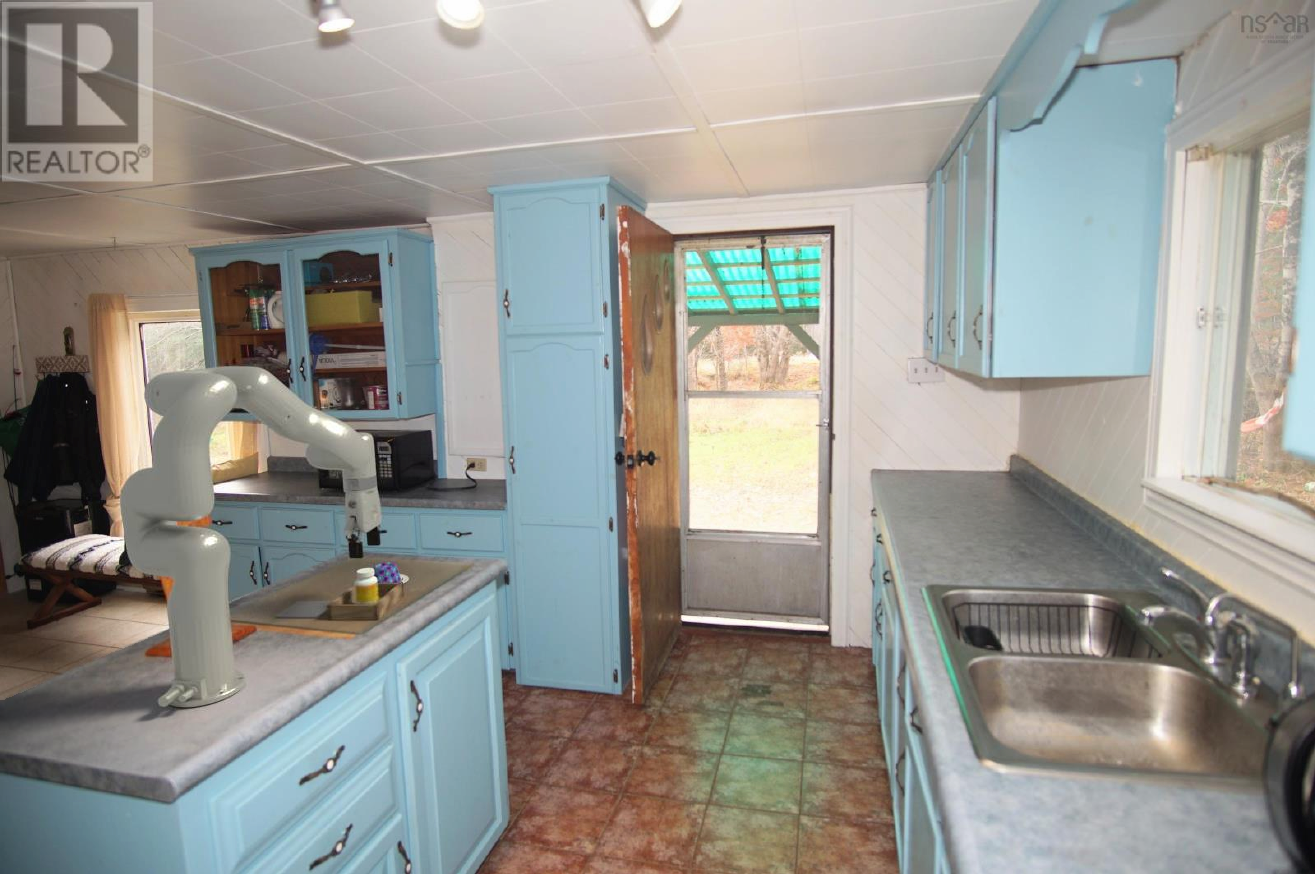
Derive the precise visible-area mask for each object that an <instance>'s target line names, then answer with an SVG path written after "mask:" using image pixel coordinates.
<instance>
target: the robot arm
mask: <svg viewBox="0 0 1315 874" xmlns="http://www.w3.org/2000/svg"><path fill="white" fill-rule="evenodd" d="M143 395H144V402H145V404H146V405H147V407H148V409H150V411H152V412H154V414H156V415H158V416H160V417H162V418H161V419H160V421H159V422H158V424H157V425H156V428H155V430H154V433H153V435H152V441H151V452H152V455H151V456H152V465H153V466H152V467H146V468H142V469H139V470H137V471H135V472H133V474H131V475H130V476H129V477H128V478H127V479H126V481H125V483H124V484H123V486H122V489H121V492H120V497H119V504H120V513H121V521H122V529H123V534H124V535H123V536H124V541H125V546H126V547H125V548H126V552H127V557H128V559H129V561H130V563H131V565H132V566H133V567H134V568H135V569H136V570H137V571H138V572H140V573H143V574H145V575H150V576H157V577H164V578H170V579H173V582H172V587H171V589H170V591H169V595H168V598H167V603H166V604H167V605H166V610H167V620H168V628H169V637H170V638H169V640H170V649H171V656H172V657H171V658H172V659H171V660H172V669H173V678H174V679H172V680H171V687H170V688H169V689H168V690H167V691H166V693H165V694H163V695H161V696H160V697H159V698H158V699H157V703H158V705H159V707H162V708H166V707H168V706H169V705H170V706H173V707H176V708H194V707H195V708H196V707H200V706H206V705H209V704H214V703H217V702H219V701H222V700H225V699H228V698H230V697H231V696H234V695H235V694H236V693H238V692H239V691H240V690H242V689H243V688H244V686H245V684H246V676H245V674H244V673H243V672H241V671H239V670H236V668H235V656H234V655H235V654H234V646H233V645H234V643H233V634H232V632H233V631H232V623H231V611H230V603H229V602H230V601H229V599H230V598H229V585H228V584H229V583H228V580H229V570H230V562H231V557H232V556H231V554H232V553H231V547H230V543H229V541H228V539H227V538H226V537H225V536H224V535H223V534H222V533H220V532H218V531H216V530H214V529H210V528H207V527H199V526H192V525H178V522H183V523H185V522H186V523H188V522H197V521H199V520H200V521H201V520H203V519H204V518H206V517H207V516H209V515H210V514H211V513H212V511H213V509H214V506H215V489H214V488H215V487H214V481H213V474H212V473H213V472H212V466H211V464H212V463H211V455H210V442H211V437H212V434H213V432H214V430H215V429H216V427H217V426H218V424H219V423H220V421H222V420H223V418H225V417H226V416H227V415H228V414H229V413H230V412H231V411H232V410H233V409H243V410H244V411H246V412H248V413H249V414H250V415H252V416H253V417H255V418H256V419H257V420H258V421H259V422H261V423H262V424H264V425H265V426H267V428H269V429H270V430H271V431H272V432H274V433H275V434H276V435H278V436H280V437H281V438H285V439H288V440H291V441H294V442H298V443H302V444H307V447H306V449H305V458H306V461H307V463H309V465H310V466H312V467H314V468H317V469H319V470H326V471H327V470H329V471H331V470H332V471H341V475H342V484H343V485H342V487H343V492H344V493H345V495H344V496H345V497H344V498H345V501H344V504H345V505H344V508H345V509H344V512H345V513H344V514H345V526H344V529H343V532H344V534H345V539H346V542H347V544H348V545H347V546H348V555H349V559H363V558H364V556H365V555H364V545H363V541H362V537H363V533H366V543H367V544H366V545H367V546H368V547H371V546H372V547H374V546H375V547H378V546H380V545H381V543H382V542H381V532H380V529H381V525H380V524H381V523H382V521H383V520H382V519H383V517H382V507H381V500H380V495H379V490H378V481H377V469H376V457H375V456H376V455H375V454H376V453H375V443H374V437H373V435H372V434H371V433H370V432H363V431H361V432H357V431H356V430H355V429H354V428H352V427H351V426H350V425H348V424H347V423H345V422H343V421H342V420H340V419H338V418H336V417H334V416H331V415H329V414H327V413H325V412H323V411H322V410H320V409H317V408H314V407H312V406H310V405H309V404H307V403H306V402H304V401H303V400H302V399H301V398H300V397H298V395H297V394H295V393H294V392H293V391H292V390H291V389H289V388H288V387H287V386H286V385H285V384H283V382H282V381H280V380H279V379H278V378H277V377H276V376H274V375H273V374H272V373H271V372H269V371H268V370H266V369H264V368H262V367H257V366H244V365H243V366H242V365H241V366H238V365H235V366H232V365H231V366H229V365H228V366H226V365H225V366H215V367H207V368H199V369H192V370H191V369H189V370H188V369H187V370H180V371H179V370H178V371H169V372H162V373H159V374H158V375H157V374H156V376H154V377H152V378H151V379H150V380H149V382H148V383H147V384H146V386H145V389H144V394H143ZM356 534H357V535H356Z"/></svg>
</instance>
